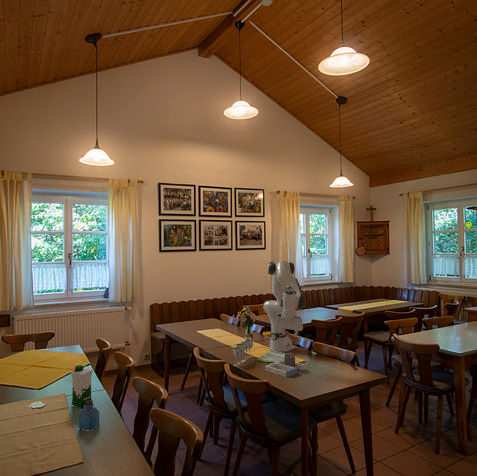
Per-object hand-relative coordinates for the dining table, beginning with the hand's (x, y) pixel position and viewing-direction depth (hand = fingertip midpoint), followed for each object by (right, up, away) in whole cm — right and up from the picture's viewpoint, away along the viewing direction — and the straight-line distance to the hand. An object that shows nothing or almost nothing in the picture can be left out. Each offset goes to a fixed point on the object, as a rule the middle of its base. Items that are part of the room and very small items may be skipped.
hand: (289, 335), depth 255 cm
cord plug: (0, -22, -1) cm, 22 cm away
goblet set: (-31, -24, +19) cm, 43 cm away
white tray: (-3, -22, -4) cm, 23 cm away
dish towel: (-9, -24, +22) cm, 33 cm away
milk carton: (-118, -22, -57) cm, 132 cm away
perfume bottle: (-104, -21, -82) cm, 134 cm away
